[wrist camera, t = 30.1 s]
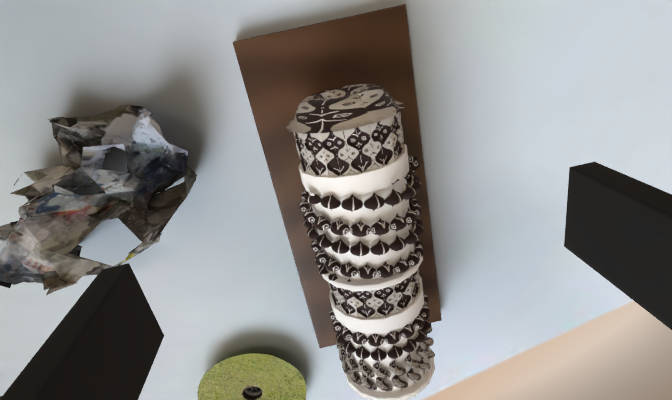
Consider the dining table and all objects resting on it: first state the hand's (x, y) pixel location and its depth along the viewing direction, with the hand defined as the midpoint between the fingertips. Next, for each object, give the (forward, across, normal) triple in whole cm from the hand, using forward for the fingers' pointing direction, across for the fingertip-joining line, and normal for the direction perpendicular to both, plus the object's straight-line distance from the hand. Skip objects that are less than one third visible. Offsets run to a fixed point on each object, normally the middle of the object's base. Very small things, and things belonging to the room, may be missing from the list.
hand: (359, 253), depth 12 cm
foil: (+23, -18, -2) cm, 29 cm away
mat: (+22, -12, -27) cm, 37 cm away
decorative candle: (+16, +2, -23) cm, 28 cm away
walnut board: (+22, +2, -8) cm, 24 cm away
